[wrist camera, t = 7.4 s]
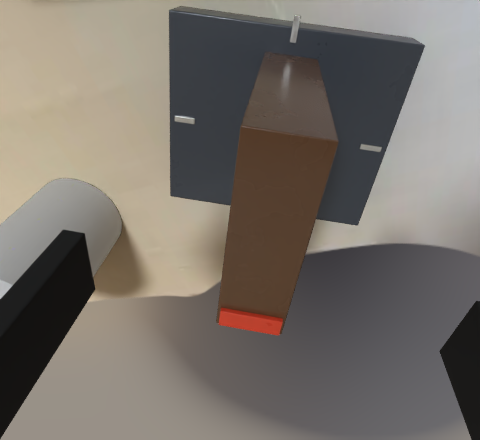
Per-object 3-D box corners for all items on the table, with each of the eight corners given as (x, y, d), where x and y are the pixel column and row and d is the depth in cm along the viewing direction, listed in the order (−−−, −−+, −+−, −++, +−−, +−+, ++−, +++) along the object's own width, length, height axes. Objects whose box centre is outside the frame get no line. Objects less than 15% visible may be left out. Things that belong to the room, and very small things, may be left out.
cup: (20, 186, 33) (-93, 278, 23) (96, 171, 31) (7, 264, 21) (66, 253, 37) (-14, 354, 28) (135, 243, 35) (75, 348, 26)
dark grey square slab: (417, 27, 22) (430, 34, 20) (351, 214, 30) (356, 233, 28) (179, -6, 23) (167, -3, 21) (178, 187, 31) (169, 203, 29)
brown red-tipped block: (265, 51, 22) (239, 127, 11) (318, 59, 22) (340, 144, 11) (244, 191, 28) (215, 327, 17) (285, 198, 27) (281, 339, 17)
